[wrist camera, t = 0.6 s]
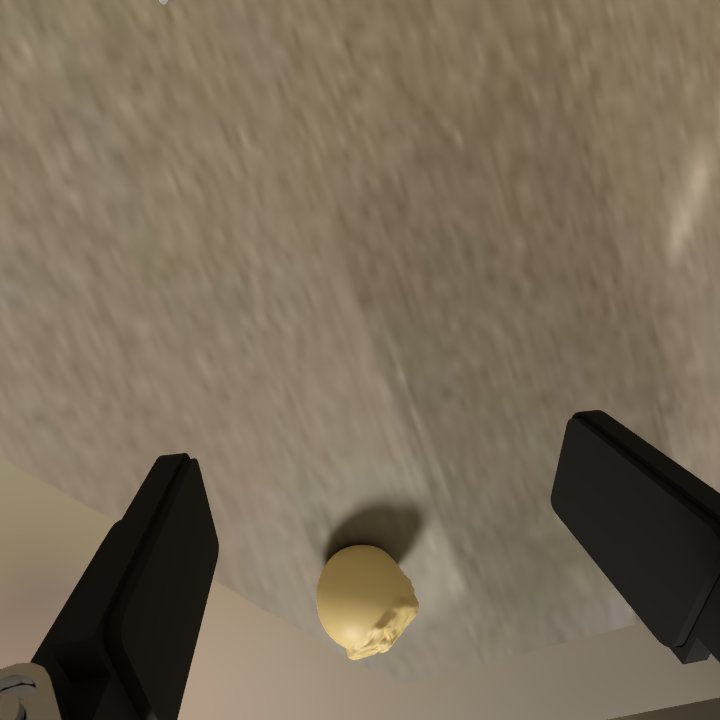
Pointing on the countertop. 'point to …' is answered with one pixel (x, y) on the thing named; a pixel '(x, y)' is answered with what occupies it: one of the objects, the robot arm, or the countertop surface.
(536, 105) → the countertop surface
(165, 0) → the small box
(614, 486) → the robot arm
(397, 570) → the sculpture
